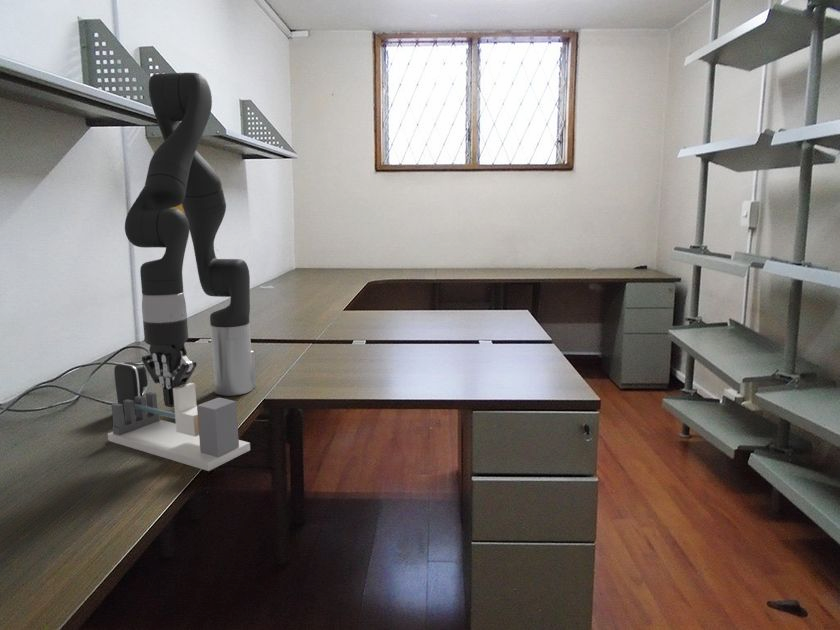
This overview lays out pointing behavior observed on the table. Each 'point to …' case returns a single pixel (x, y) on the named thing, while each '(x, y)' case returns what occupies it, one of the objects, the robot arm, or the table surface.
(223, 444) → the cable jig
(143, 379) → the battery charger
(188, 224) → the robot arm
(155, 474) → the table surface
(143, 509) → the table surface
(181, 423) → the sleeve
